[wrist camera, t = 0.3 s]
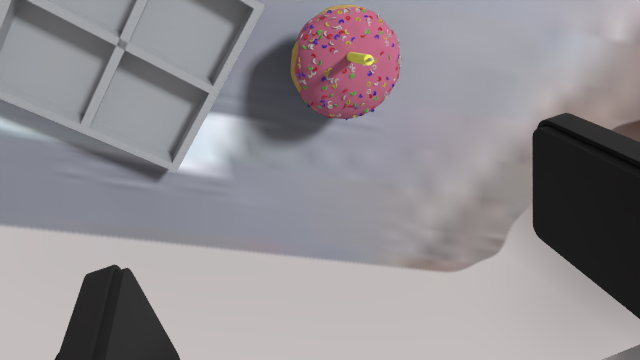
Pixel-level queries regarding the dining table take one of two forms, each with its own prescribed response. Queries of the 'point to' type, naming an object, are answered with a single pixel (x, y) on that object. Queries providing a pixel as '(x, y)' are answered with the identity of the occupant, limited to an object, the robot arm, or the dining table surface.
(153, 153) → the egg tray
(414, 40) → the dining table surface
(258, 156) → the dining table surface
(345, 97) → the cupcake
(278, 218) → the dining table surface
